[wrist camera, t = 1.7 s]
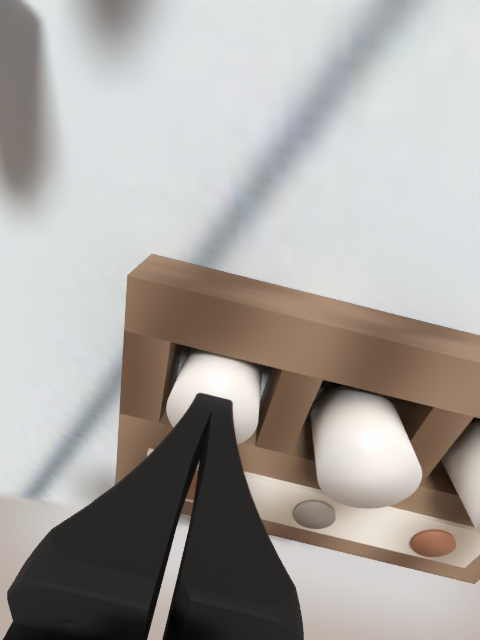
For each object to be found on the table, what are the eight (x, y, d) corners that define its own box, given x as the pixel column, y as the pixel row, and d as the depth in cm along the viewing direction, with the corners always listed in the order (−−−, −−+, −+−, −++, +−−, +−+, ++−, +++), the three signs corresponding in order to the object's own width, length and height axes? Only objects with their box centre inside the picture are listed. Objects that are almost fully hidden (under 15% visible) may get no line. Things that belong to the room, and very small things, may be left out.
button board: (616, 369, 14) (691, 420, 11) (453, 535, 20) (478, 592, 18) (151, 254, 14) (122, 279, 11) (132, 458, 20) (111, 504, 17)
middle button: (411, 396, 14) (442, 457, 11) (375, 453, 15) (394, 517, 13) (326, 375, 14) (337, 431, 11) (300, 435, 15) (304, 495, 13)
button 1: (271, 347, 15) (269, 391, 12) (251, 406, 16) (246, 456, 14) (191, 327, 15) (172, 368, 12) (180, 388, 16) (161, 436, 14)
